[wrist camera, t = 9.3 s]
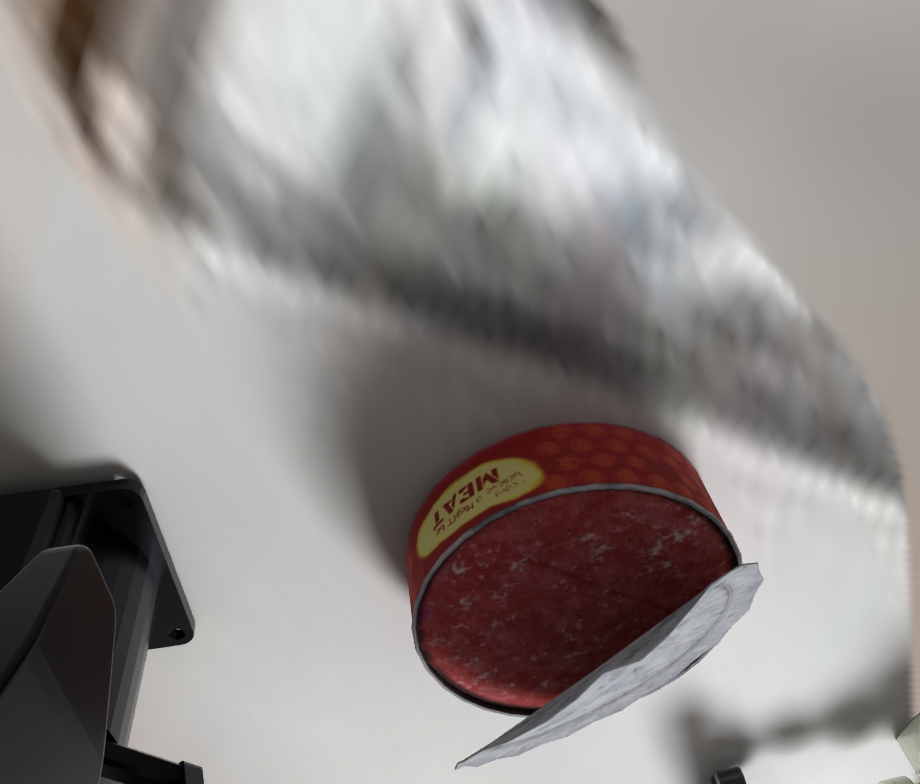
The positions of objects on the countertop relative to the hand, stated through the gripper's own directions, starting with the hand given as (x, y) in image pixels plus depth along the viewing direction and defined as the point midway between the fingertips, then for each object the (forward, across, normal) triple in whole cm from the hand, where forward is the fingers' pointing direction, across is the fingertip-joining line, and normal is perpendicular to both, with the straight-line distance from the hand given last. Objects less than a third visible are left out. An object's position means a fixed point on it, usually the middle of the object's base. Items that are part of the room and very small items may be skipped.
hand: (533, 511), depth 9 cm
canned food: (+13, -3, +14) cm, 20 cm away
